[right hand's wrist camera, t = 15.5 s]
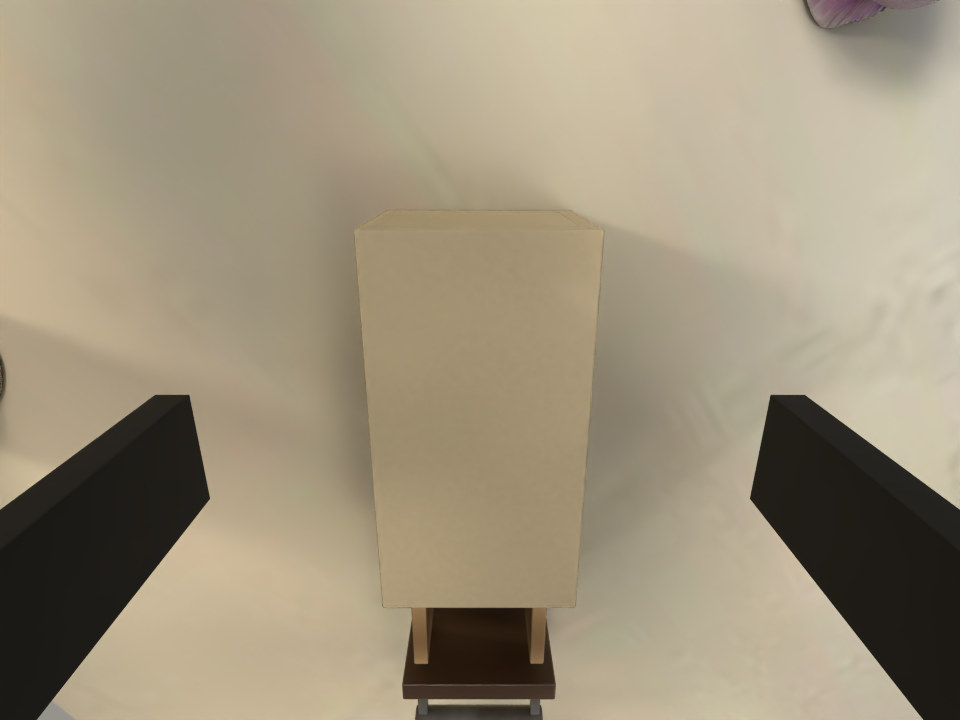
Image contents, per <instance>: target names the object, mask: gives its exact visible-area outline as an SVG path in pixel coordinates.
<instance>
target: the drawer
mask: <svg viewBox="0 0 960 720" xmlns="http://www.w3.org/2000/svg"><path fill="white" fill-rule="evenodd" d="M402 688H403V699H418V705H417V708H416V716H415V720H543V716H542V707H541V705H540V699H555V689H556V683H555V676H554V669H553V662H552V655H551V648H550V641H549V634H548V627H547V620H546V608H412V622H411V629H410V635H409V642H408V649H407V656H406V663H405V669H404V676H403V683H402ZM428 699H530V705H428Z"/></svg>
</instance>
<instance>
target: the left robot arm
mask: <svg viewBox="0 0 960 720" xmlns="http://www.w3.org/2000/svg"><path fill="white" fill-rule="evenodd" d="M1 391H2V370H1V366H0V395H1Z"/></svg>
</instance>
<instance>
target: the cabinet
mask: <svg viewBox="0 0 960 720" xmlns="http://www.w3.org/2000/svg"><path fill="white" fill-rule="evenodd" d="M354 237H355V250H356V263H357V276H358V290H359V303H360V316H361V329H362V342H363V355H364V369H365V382H366V395H367V408H368V421H369V434H370V447H371V461H372V474H373V487H374V500H375V513H376V526H377V540H378V553H379V566H380V579H381V592H382V605H383V607H384V608H575V606H576V593H577V580H578V567H579V555H580V542H581V529H582V516H583V503H584V490H585V477H586V464H587V451H588V438H589V425H590V412H591V399H592V386H593V373H594V360H595V347H596V334H597V321H598V308H599V295H600V282H601V270H602V257H603V244H604V230H603V229H601V228H600V227H598V226H596V225H595V224H593V223H591V222H589V221H588V220H586V219H584V218H583V217H581V216H579V215H578V214H576V213H574V212H573V211H571V210H387V211H385V212H384V213H382V214H381V215H379V216H377V217H375V218H374V219H372V220H370V221H369V222H367V223H365V224H363V225H362V226H360V227H358V228H357V229H355V230H354Z"/></svg>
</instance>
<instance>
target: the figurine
mask: <svg viewBox="0 0 960 720" xmlns="http://www.w3.org/2000/svg"><path fill="white" fill-rule="evenodd" d="M936 1H939V0H807V2H808V6H809V8H810V11H811V14H812V16H813V18H814V19H815V21H816V22H817V23H818V25H819V26H821V27H823V28H827V27H828V28H830V29H831V28H836V27H840V26H842V25H843V24H846V25H847V24H848V23H849V22H850V23H853V22H854V21H856V22H858V21H859V20H860V19H861V20H864V19H865V18H867V19H868V18H870V17H871V16H875V15H877V13H878V12H879V11H884V9H885V8H886V7H888V8H892V9H911V8H916V7H920V6H924V5H928V4H931V3H934V2H936Z"/></svg>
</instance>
